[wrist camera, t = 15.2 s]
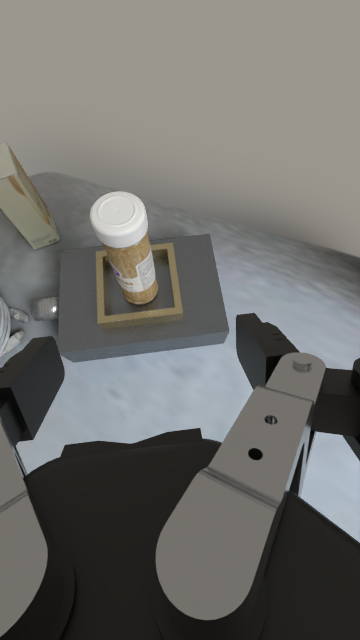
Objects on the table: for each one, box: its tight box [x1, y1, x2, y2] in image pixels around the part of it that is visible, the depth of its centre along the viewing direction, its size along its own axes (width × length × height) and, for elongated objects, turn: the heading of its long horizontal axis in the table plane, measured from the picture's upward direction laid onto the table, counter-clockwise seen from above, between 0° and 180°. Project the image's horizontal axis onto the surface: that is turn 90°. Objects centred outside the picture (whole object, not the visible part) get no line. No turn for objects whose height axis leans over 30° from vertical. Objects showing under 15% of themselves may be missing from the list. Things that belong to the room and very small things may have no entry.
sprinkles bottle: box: [90, 191, 158, 305], centre depth 28 cm, size 5×5×14 cm
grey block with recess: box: [31, 234, 229, 362], centre depth 36 cm, size 24×14×7 cm, turn 97°
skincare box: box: [0, 143, 60, 249], centre depth 39 cm, size 6×4×12 cm
